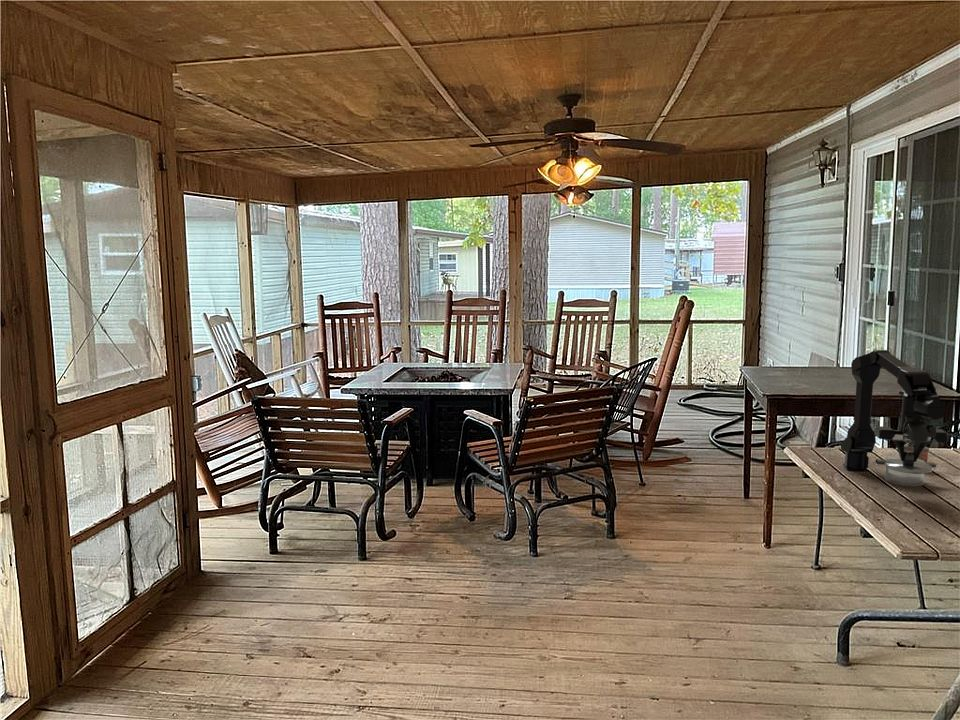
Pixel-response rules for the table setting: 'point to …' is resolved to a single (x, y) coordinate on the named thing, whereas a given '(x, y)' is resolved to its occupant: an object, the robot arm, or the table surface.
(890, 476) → the pot
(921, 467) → the lid
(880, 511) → the table surface
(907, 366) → the robot arm
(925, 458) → the lighter
